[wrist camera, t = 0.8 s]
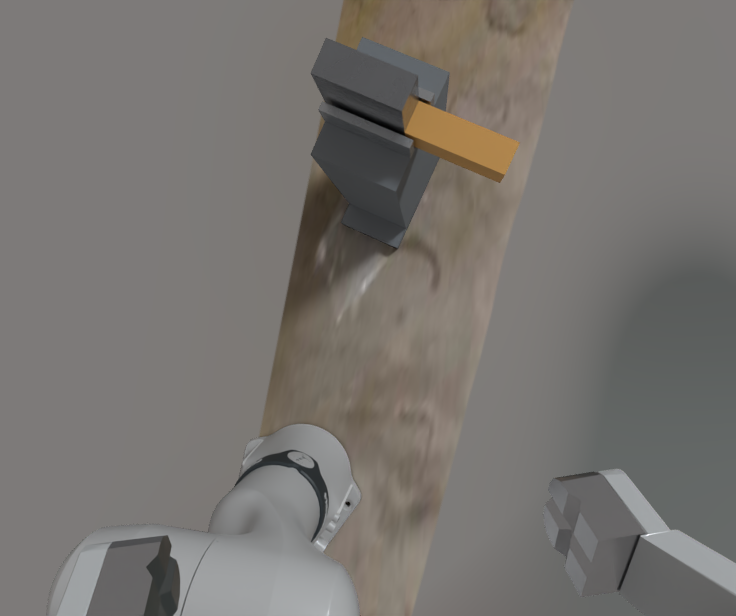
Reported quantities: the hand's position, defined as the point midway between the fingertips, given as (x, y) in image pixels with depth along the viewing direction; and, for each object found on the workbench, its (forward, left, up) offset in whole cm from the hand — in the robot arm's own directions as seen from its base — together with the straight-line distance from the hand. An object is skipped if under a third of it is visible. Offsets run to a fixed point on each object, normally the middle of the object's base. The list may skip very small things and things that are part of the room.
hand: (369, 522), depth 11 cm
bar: (+19, +8, -37) cm, 42 cm away
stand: (+19, +12, -63) cm, 67 cm away
